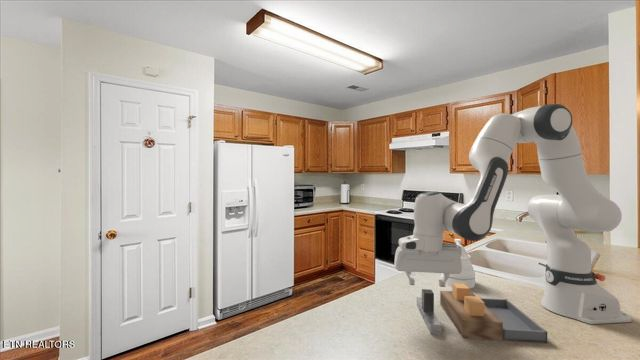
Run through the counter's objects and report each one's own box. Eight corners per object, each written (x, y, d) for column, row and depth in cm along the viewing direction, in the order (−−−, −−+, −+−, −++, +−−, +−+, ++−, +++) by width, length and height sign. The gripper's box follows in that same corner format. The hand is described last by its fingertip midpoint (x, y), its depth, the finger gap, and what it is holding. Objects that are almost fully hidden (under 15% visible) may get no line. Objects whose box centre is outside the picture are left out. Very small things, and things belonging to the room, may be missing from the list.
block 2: (477, 309, 84) (478, 296, 84) (484, 316, 80) (484, 302, 80) (464, 308, 85) (464, 296, 85) (469, 315, 81) (469, 302, 81)
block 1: (464, 295, 94) (464, 283, 94) (469, 300, 90) (469, 288, 90) (452, 294, 95) (452, 283, 95) (456, 300, 91) (456, 288, 91)
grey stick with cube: (425, 306, 98) (425, 280, 98) (441, 335, 80) (441, 304, 80) (416, 305, 98) (416, 280, 98) (430, 334, 80) (430, 304, 80)
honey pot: (440, 275, 127) (441, 236, 126) (472, 279, 122) (473, 238, 122) (442, 285, 115) (442, 242, 114) (477, 290, 110) (477, 245, 110)
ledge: (471, 306, 97) (471, 292, 97) (502, 340, 77) (502, 322, 77) (440, 304, 98) (440, 290, 98) (462, 337, 78) (463, 320, 78)
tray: (506, 307, 96) (506, 299, 96) (547, 342, 76) (547, 332, 76) (471, 306, 97) (471, 297, 97) (502, 340, 77) (502, 329, 77)
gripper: (457, 241, 90) (456, 283, 91) (393, 238, 93) (393, 280, 93) (465, 246, 84) (464, 291, 84) (397, 243, 86) (396, 287, 87)
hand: (426, 285), depth 89 cm, fingers open, 8 cm apart
